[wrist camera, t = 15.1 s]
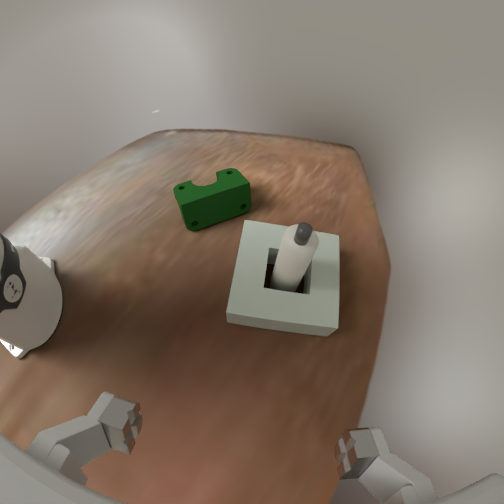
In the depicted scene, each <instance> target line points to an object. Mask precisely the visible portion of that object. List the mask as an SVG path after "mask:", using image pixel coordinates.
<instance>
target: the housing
mask: <svg viewBox="0 0 504 504" xmlns="http://www.w3.org/2000/svg"><path fill="white" fill-rule="evenodd" d="M287 228H288V227H287V226H281V225H275V224H269V223H263V222H257V221H250V220H245V221H244V226H243V231H242V236H241V241H240V246H239V251H238V255H237V260H236V265H235V270H234V275H233V280H232V285H231V290H230V295H229V300H228V305H227V311H226V317H227V323H233V324H239V325H245V326H251V327H257V328H264V329H271V330H278V331H285V332H293V333H301V334H309V335H318V336H329V335H330V334H331V333H333V332H334V331H335V330H336V329H338V322H339V235H333V234H328V233H322V232H316V231H314V232H315V233H316V234H317V236H318V239H319V245H318V248H317V250H316V252H315V254H314V256H313V258H312V260H311V262H310V264H309V266H308V268H307V270H306V272H305V275H304V289H303V294H301V293H294V292H288V291H281V290H274V289H268V288H264V281H265V274H266V267H267V263H268V264H275V262H276V259H277V255H278V251H279V248H280V244H281V241H282V237H283V234H284V231H285V230H286V229H287Z"/></svg>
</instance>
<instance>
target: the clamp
mask: <svg viewBox="0 0 504 504" xmlns="http://www.w3.org/2000/svg"><path fill="white" fill-rule="evenodd" d="M216 175H217V181H216V182H215V183H213V184H210V185H207V186H196V185H194V184H192V183H191V180H190V181H187V182H184V183H181V184H178V185H176V186H175V187H174V189H173V190H174V194H175V198H176V200H177V202H178V204H179V207H180V211H181V214H182V218H183V221H184V223H185V225H186V227H187V229H188V230H190V231H196V230H199V229H201V228H204V227H207V226H210V225H212V224H215V223H218V222H221V221H223V220H226V219H229V218H232V217H235V216H238V215H241V214H243V213H246V212H247V211H248V210H249V209H250V207H251V195H250V183H249V182H248V180H247V179H246V178H245V177H244V176H243V175H242V174H241V173H240V172H239V171H238V170H237V169H234V168H229V169H225V170H222V171H218V172H216Z"/></svg>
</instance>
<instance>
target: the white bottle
mask: <svg viewBox="0 0 504 504" xmlns="http://www.w3.org/2000/svg"><path fill="white" fill-rule="evenodd" d="M318 245H319V239H318V236H317V234H316V233H315V232H314V231H313V229H312V227H311V225H310V224H308V223H305V222H303V223H300V224H296V225H292V226H290V227H288V228H287V229H286V230H285V231H284V234H283V237H282V241H281V244H280V248H279V251H278V255H277V259H276V262H275V266H274V269H273V273H272V276H271V280H270V288H271V289H274V290H281V291H288V292H295V291H296V289H297V287H298V285H299V283H300V281H301V279H302V277H303V276H304V274H305V272H306V270H307V268H308V266H309V264H310V262H311V260H312V258H313V256H314V254H315V252H316V250H317V248H318Z"/></svg>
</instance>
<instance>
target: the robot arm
mask: <svg viewBox="0 0 504 504" xmlns="http://www.w3.org/2000/svg"><path fill="white" fill-rule="evenodd" d="M61 310H62V291H61V287H60V284H59V282H58V280H57V278H56V276H55V273H54V262H53V260H52V259H51V258H49V257H37V256H36V255H35V254H34V253H33V252H31V251H30V250H29V249H28V248H27V247H26V246H22V247H21V246H16V247H14V246H13V245H12V244H11V242H10V241H9V240H8V239H7V238H6V237H4V236H3V235H2V234H0V342H1V343H2V344H3V345H4V346H5V347H6V348H7V349H8V350H9V351H10V353H11V354H12V355H13V356H14V357H16V358H18V359H20V358H22V357H23V356H24V355H25V354H26V353H27V352H28V351H29V350H31V349H33V348H36V347H38V346H40V345H42V344H43V343H45V342H46V341H47V340H48V339H49V338H50V336H51V335H52V334H53V332H54V330H55V328H56V326H57V324H58V322H59V319H60V315H61ZM14 346H15V347H14ZM139 411H140V404H139V403H137V402H134V401H131V400H128V399H125V398H122V397H120V396H117V395H114V394H111V393H109V392H106V391H105V392H103V393H102V394H101V395H100V397H99V398H98V400H97V401H96V403H95V404H94V406H93V407H92V409H91V410H90V412H89V413H88V415H87V416H84V415H83V416H80V417H78V418H75V419H73V420H70V421H67V422H65V423H62V424H59V425H57V426H54V427H51V428H48V429H46V430H43V431H40V432H39V433H38V435H37V436H36V437H35V439H34V440H33V442H32V443H31V444H30V446H29V447H28V448H27V450H26V451H24V450H23V449H22V448H20V447H19V446H17V445H16V444H15V443H13V442H12V441H11V440H9V439H8V438H7V437H6V436H4V435H3V434H2V433H1V432H0V504H127V503H124V502H121V501H119V500H116V499H114V498H111V497H109V496H106V495H104V494H101V493H99V492H97V491H95V490H92V489H90V488H88V487H86V486H85V484H86V482H87V477H86V475H85V474H84V473H83V471H82V470H81V468H80V467H82V466H84V465H86V464H87V463H89V462H91V461H92V460H94V459H96V458H97V457H99V456H101V455H102V454H104V453H106V452H107V451H109V450H111V448H112V449H115V450H118V451H120V452H123V453H126V454H131V451H132V449H133V447H134V445H135V440H134V438H135V437H136V436H138V435H139V433H140V431H141V427H142V415H141V414H140V413H139ZM342 436H343V438H342V439H340V440H338V442H337V444H336V446H335V451H334V452H335V460H336V461H337V462H338V463H339V466H338V467H337V470H338V475H339V480H346V479H357V478H358V480H359V481H360V482H361V483H362V484H363V485H364V486H365V487H366V488H367V489H368V490H369V491H370V492H371V494H372V495H374V497H376V498H377V500H378V501H379V502H380V503H382V504H504V477H503V476H501V475H499V474H496V473H494V474H490V475H488V476H486V477H485V478H483V479H481V480H479V481H477V482H475V483H473V484H471V485H469V486H467V487H465V488H463V489H461V490H459V491H457V492H454V493H452V494H450V495H448V496H445V497H443V498H440V499H438V498H437V495H436V493H435V490H434V488H433V486H432V483H431V481H430V479H429V478H428V477H427V476H425V475H424V474H422V473H421V472H419V471H418V470H416V469H415V468H413V467H412V466H410V465H409V464H408V463H406V462H405V461H403V460H402V459H401V458H399V457H398V456H397V455H395V454H391V452H390V449H389V447H388V444H387V442H386V439H385V437H384V434H383V432H382V429H381V428H380V427H371V428H356V429H346V430H345V431H344V432H343V434H342Z"/></svg>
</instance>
